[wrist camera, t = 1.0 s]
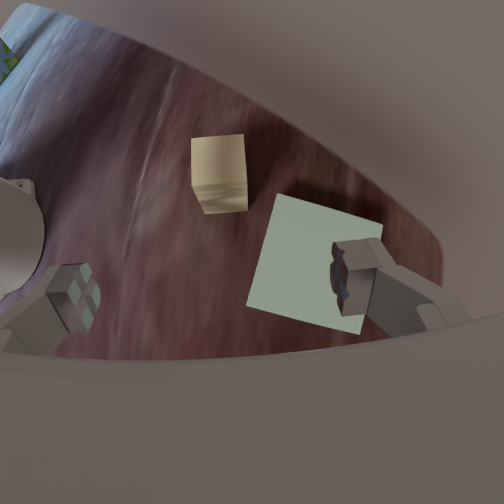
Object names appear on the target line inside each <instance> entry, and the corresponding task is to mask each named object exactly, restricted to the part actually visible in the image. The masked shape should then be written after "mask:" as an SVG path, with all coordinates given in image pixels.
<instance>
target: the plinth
mask: <svg viewBox="0 0 504 504" xmlns="http://www.w3.org/2000/svg"><path fill="white" fill-rule="evenodd" d="M382 228H383V225H382V224H379V223H376V222H373V221H370V220H367V219H363V218H360V217H357V216H354V215H351V214H347V213H344V212H341V211H337V210H334V209H331V208H327V207H324V206H321V205H317V204H314V203H310V202H307V201H303V200H300V199H296V198H293V197H289V196H285V195H282V194H278V193H277V196H276V200H275V204H274V207H273V211H272V215H271V218H270V222H269V225H268V229H267V233H266V236H265V240H264V243H263V247H262V251H261V254H260V258H259V261H258V265H257V268H256V272H255V276H254V279H253V283H252V286H251V290H250V293H249V297H248V301H247V304H246V306H249V307H253V308H256V309H260V310H264V311H267V312H271V313H275V314H278V315H282V316H286V317H290V318H294V319H297V320H301V321H305V322H309V323H313V324H317V325H321V326H325V327H329V328H333V329H337V330H342V331H346V332H350V333H354V334H359V335H360V331H361V327H362V323H363V319H364V315H365V314H363V315H354V316H345V317H342V316H341V313H340V310H339V308H338V305H337V295H336V294H335V293H333V290H332V287H331V283H330V264H331V263H332V262H333V261H334V259H333V256H332V254H331V249H332V244H333V242H339V241H349V240H359V239H366V238H374V237H377V238H379V239H380V240H381V234H382Z"/></svg>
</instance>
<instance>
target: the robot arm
mask: <svg viewBox="0 0 504 504" xmlns="http://www.w3.org/2000/svg"><path fill="white" fill-rule="evenodd" d="M21 187H22V188H21ZM43 243H44V221H43V216H42V212H41V210H40V208H39V206H38V204H37V201H36V199H35V186H34V182H33V181H32V180H29V179H12V180H5V179H3V178H1V177H0V301H1V300H2V299H3V298H4V297H5V295H6V294H7V293H9V292H11V291H14V290H16V289H18V288H20V287H21V286H22V285H24V284H25V283H26V282H27V281H28V279H29V278H30V277H31V275H32V274H33V272H34V270H35V269H36V267H37V264H38V262H39V259H40V256H41V253H42V249H43ZM331 254H332V256H333V259H334V261H333V262H332V263H331V264H330V283H331V287H332V290H333V293H335V294H336V295H337V305H338V308H339V310H340V313H341V316H342V317H345V316H354V315H363V314H367V316H368V317H370V318H371V319H372V320H373V321H374V322H375V323H377V324H378V325H379V326H380V327H381V328H382V329H384V330H385V331H386V332H387V333H388V334H389V335H391V336H392V337H393V338H389V339H383V340H378V341H372V342H366V343H360V344H353V345H347V346H340V347H333V348H326V349H318V350H310V351H301V352H292V353H282V354H272V355H260V356H247V357H232V358H215V359H192V360H99V359H78V358H62V357H48V356H49V355H50V354H51V353H52V352H53V351H54V350H55V348H56V347H57V346H58V345H59V344H60V343H61V342H62V341H63V340H64V339H65V338H66V336H67V335H68V334H69V333H80V332H89V330H90V327H91V325H92V322H93V320H94V317H93V315H92V314H93V313H94V312H95V311H96V310H97V309H98V307H99V304H100V290H99V287H98V285H97V283H96V282H95V281H94V280H93V279H91V276H92V271H91V269H90V266H89V265H88V264H86V263H76V264H63V265H62V264H60V265H52V266H50V267H49V268H48V269H47V271H46V273H45V274H44V276H43V277H42V279H41V280H40V282H39V283H38V285H37V286H36V288H35V290H34V291H33V293H32V294H28V295H27V296H25V297H24V298H23V299H21V300H20V301H19V302H17V303H16V304H15V305H13V306H12V307H11V308H9V309H8V310H7V311H5V312H4V313H3V314H1V315H0V504H504V312H501V313H498V314H494V315H490V316H487V317H483V318H479V319H475V320H473V319H472V317H471V316H470V314H469V313H468V311H467V310H466V308H465V307H464V305H463V303H462V302H461V300H460V299H459V297H457V296H456V295H454V294H452V293H450V292H449V291H447V290H445V289H443V288H441V287H440V286H438V285H436V284H434V283H432V282H431V281H429V280H427V279H425V278H423V277H421V276H420V275H418V274H416V273H414V272H412V271H410V270H408V269H407V268H405V267H403V266H397V265H396V264H395V262H394V261H393V259H392V257H391V256H390V254H389V253H388V251H387V250H386V248H385V247H384V245H383V244H382V242H381V241H380V239H379V238H377V237H374V238H366V239H359V240H349V241H339V242H333V244H332V249H331Z"/></svg>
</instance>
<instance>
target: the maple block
mask: <svg viewBox="0 0 504 504" xmlns="http://www.w3.org/2000/svg"><path fill="white" fill-rule="evenodd" d="M191 164H192V188H193V190H194V192H195V194H196V196H197V198H198V200H199V202H200V204H201V207H202V209H203V211H204V213H205V214H213V213H225V212H238V211H248V193H247V173H246V161H245V148H244V135H243V134H236V135H224V136H213V137H202V138H193V139H191Z"/></svg>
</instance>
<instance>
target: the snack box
mask: <svg viewBox="0 0 504 504" xmlns="http://www.w3.org/2000/svg"><path fill="white" fill-rule="evenodd" d="M18 62H19V60H18V58H17V57H16V56H15V55H14V54H13V52H12V51H11V50H10V49H9V47H8V46H7V45H6V44H5V43H4V41H3V40H2V39H1V38H0V84H1V83H2V82H3V80H4V79H5V78H6V76H7V75H8V74H9V73H10V72H11V70H12V69H13V68H14V67H15V65H16V64H17V63H18Z"/></svg>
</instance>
